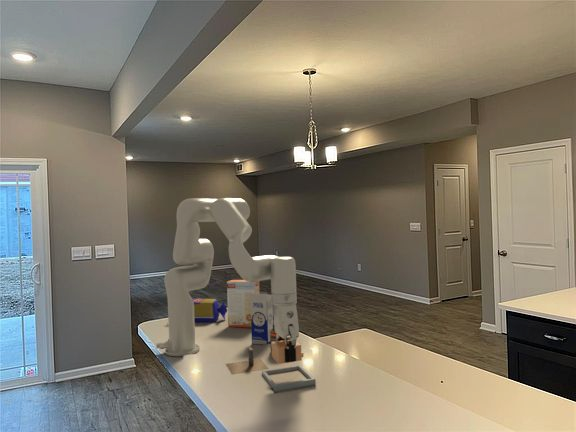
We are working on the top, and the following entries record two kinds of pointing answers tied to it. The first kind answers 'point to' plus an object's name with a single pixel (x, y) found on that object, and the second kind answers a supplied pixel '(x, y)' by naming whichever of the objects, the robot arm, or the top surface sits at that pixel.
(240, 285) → the cracker box
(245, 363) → the brown board with hook
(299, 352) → the ring
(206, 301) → the bread
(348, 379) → the top surface
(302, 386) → the tray
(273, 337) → the supplement bottle
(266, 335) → the milk carton
